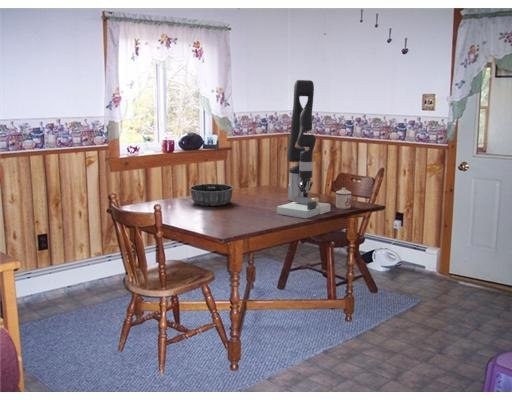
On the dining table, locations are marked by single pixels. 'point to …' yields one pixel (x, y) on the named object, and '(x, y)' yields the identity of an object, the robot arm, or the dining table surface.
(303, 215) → the door leaf
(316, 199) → the bar
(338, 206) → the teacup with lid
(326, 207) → the jamb block
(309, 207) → the block
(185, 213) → the dining table surface
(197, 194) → the bundt pan
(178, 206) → the dining table surface
